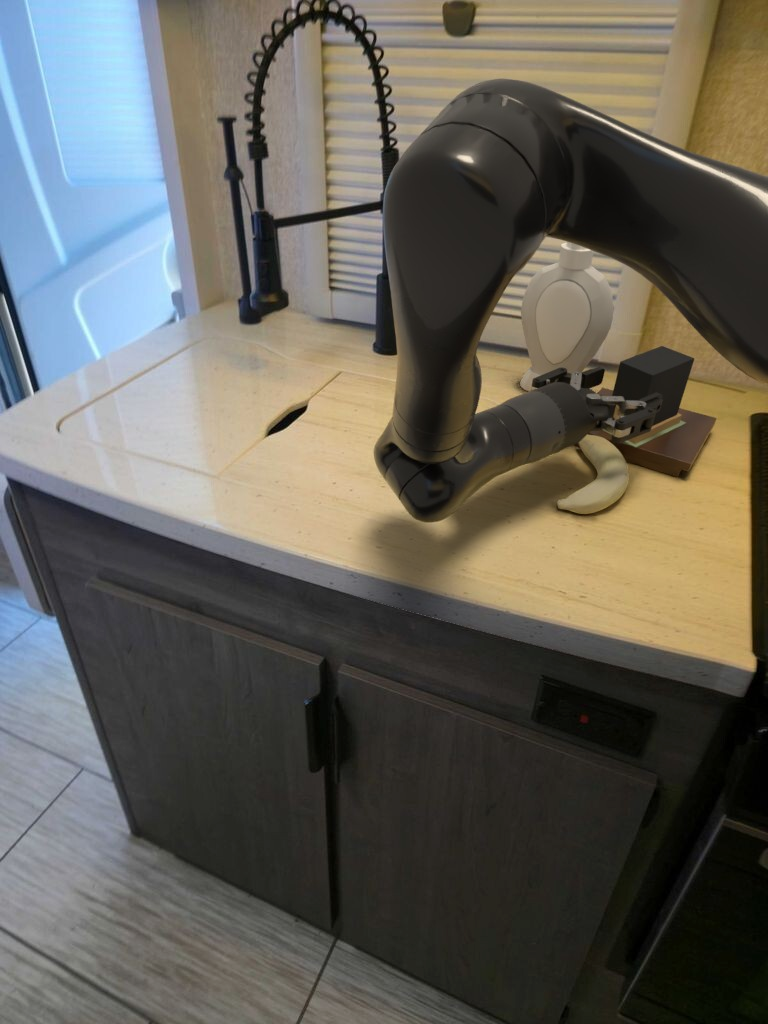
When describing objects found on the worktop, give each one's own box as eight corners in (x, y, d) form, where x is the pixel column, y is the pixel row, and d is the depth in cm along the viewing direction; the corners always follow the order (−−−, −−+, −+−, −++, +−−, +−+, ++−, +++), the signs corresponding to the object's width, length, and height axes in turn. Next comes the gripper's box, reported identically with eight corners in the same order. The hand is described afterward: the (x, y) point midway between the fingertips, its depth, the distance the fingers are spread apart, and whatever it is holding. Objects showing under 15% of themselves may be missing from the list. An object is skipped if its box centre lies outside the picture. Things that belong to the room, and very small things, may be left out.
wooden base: (711, 433, 92) (717, 417, 90) (685, 481, 82) (691, 463, 81) (598, 402, 99) (602, 386, 97) (562, 443, 89) (566, 426, 88)
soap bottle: (500, 396, 100) (522, 225, 85) (516, 376, 106) (539, 212, 91) (585, 415, 95) (624, 238, 81) (598, 394, 101) (636, 224, 86)
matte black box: (644, 406, 92) (661, 343, 87) (679, 422, 89) (700, 358, 83) (599, 426, 88) (614, 361, 82) (634, 444, 84) (653, 377, 79)
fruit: (632, 459, 86) (638, 437, 84) (618, 525, 75) (624, 501, 73) (576, 448, 88) (581, 426, 87) (554, 510, 77) (559, 487, 75)
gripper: (593, 420, 67) (688, 380, 75) (496, 370, 76) (589, 339, 84) (579, 481, 72) (670, 437, 79) (489, 427, 81) (578, 393, 89)
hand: (628, 387), depth 82 cm, fingers open, 8 cm apart
